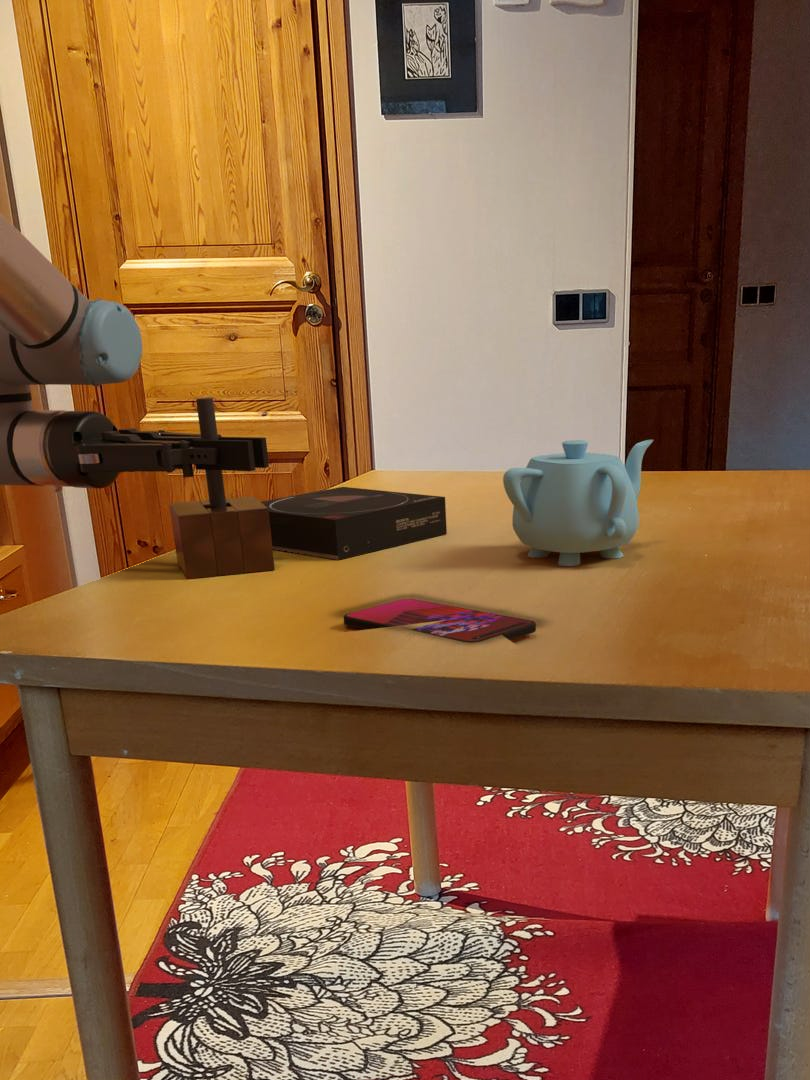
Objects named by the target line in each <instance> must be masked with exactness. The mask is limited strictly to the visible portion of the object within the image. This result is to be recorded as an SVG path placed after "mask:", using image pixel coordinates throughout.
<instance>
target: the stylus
mask: <svg viewBox="0 0 810 1080" xmlns="http://www.w3.org/2000/svg"><path fill="white" fill-rule="evenodd" d="M195 401H196V402H195V403H196V410H197V417H198V425H199V434H201V439H205V440H206V439H209V440H218V428H217V420H216V410H215V402H214V398H213V397H198V398H196V399H195ZM204 471H205V478H206V479H205V480H206V486H207V494H208V500H209V502H210V508H220V507H227V506H226V499H227V498H226V490H225V482H224V474H223V470H204Z"/></svg>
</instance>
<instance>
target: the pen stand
mask: <svg viewBox="0 0 810 1080" xmlns="http://www.w3.org/2000/svg"><path fill="white" fill-rule="evenodd" d="M261 502H262V501H260V500H259V499H258V498H257V497H255V496H254V495H251V496H239V497H228V498H226V506H227V507H220V508H210V502H209V499H203V500H193V501H181V502H170V503H169V504H168V505H169V512H170V519H171V527H172V533H173V541H174V548H175V552H176V560H177V561H176V562H177V564H178V566H179V567H180V569H181V571H182V573H183V574H184V576H185V578H186V579H187V580H191V579H199V578H200V579H201V578H210V577H212V578H213V577H222V576H232V575H239V574H238V573H242V574H248V573H247V572H251V573H258V572H257V571H261V572H268V571H267V570H271V571H275V568H276V567H275V559H274V558H275V557H274V550H273V549H272V539H271V530H270V521H269V512H268V508H267V507H266V506H265V505H263V504H262V503H261ZM231 574H232V575H231Z"/></svg>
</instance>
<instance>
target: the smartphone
mask: <svg viewBox="0 0 810 1080" xmlns="http://www.w3.org/2000/svg"><path fill="white" fill-rule="evenodd" d="M343 623H344V625H345V626H348V627H353V628H356V629H357V628H358V629H361V630H366V631H367V630H376V629H383V628H385V629H386V628H392V627H401V626H409V625H418V624H426V623H430V624H427V625H422V626H419V627H415V628H406V627H404V629H405V630H409V631H414V632H417V633H422V634H427V635H430V636H435V637H440V638H444V639H449V640H453V641H457V642H462V643H466V644H467V643H469V644H473V643H480V642H484V641H488V640H490V639H493V638H497V637H500V636H502V637H504V638H505V639H507V640H508V641H513V640H515V639H518V638H522V637H525V636H528V635H531V634H534V633H535V632H536V631H537V623H536V621H534V620H531V619H525V618H519V617H515V616H510V615H509V616H508V615H503V614H497V613H491V612H487V611H481V610H475V609H470V608H464V607H459V606H453V605H448V604H442V603H437V602H431V601H427V600H426V601H425V600H421V599H420V600H419V599H415V598H401V599H398V600H394V601H390V602H386V603H383V604H379V605H375V606H371V607H368V608H364V609H359V610H356V611H351V612H348V613H345V614H344V615H343Z"/></svg>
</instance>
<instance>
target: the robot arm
mask: <svg viewBox="0 0 810 1080" xmlns="http://www.w3.org/2000/svg"><path fill="white" fill-rule="evenodd" d="M142 357H143V339H142V334H141V331H140V327H139V325H138V323H137V321H136V319H135V316H134V315H133V314H132V312H130V310H129V309H128V308H127V307H125V306H124V305H123V304H120V303H119V302H116V301H112V300H110V301H109V300H105V299H103V298H102V299H101V298H95V299H94V300H91V299H90V298H87V297H86V296H85V295H84V294H83V293H82V292H81V291H80V290H79V289H78V288H77V287H76V286H75V285H73V284H72V282H71V281H70V280H69V279H68V278H67V277H66V276H65V275H64V274H63V273H62V272H61V271H60V270H59V269H58V268H57V267H56V266H55V265H54V264H53V263H52V262H51V261H50V260H49V259H48V258H47V257H46V256H45V255H44V254H43V253H42V252H40V250H39V249H38V248H37V247H36V246H35V245H33V243H32V242H31V241H30V240H29V239H28V238H27V237H26V236H25V235H24V234H23V233H22V232H21V231H19V229H17V227H15V225H14V224H13V223H12V222H11V221H10V220H9V219H7V217H6V216H5V215H4V214H3V213H2V212H0V486H30V487H31V486H34V487H35V486H37V487H50V486H52V490H53V492H55V493H61V492H62V491H63V488H64V487H67V488H71V487H73V488H76V489H77V488H78V489H97V490H99V489H104V488H108V487H110V486H111V485H112V484H113V483H114V482H116V480H117V479H118V477H119V475H120V473H135V472H136V473H137V472H145V473H146V472H154V473H155V472H158V473H159V472H161V473H162V472H163V473H164V472H166V473H167V474H168V473H169V474H171V473H174V472H175V471H176V470H181V472H182V477H183V478H193V477H194V476H195V474H194V473H195V472H194V467H195V470H196V471H197V470H198V471H205V470H222V471H229V472H231V471H232V472H253V471H256V469H266V468H269V467H270V463H269V454H268V445H267V444H268V443H267V437H261V436H259V437H255V436H222V434H220V433H219V434H218V433H217V434H218V440H209V439H206V440H205V439H201V434H200V433H191V432H190V433H189V432H188V433H187V432H173V431H166V430H162V429H161V430H158V431H156V430H138V429H137V428H119V429H118V428H117V426H116V425H115V424H114V423H113V421H112V420H111V419H110V418H109V417H108V416H107V415H105V414H103V413H101V412H98V411H96V410H65V409H63V410H62V409H34V407H33V402H32V400H33V397H32V391H31V386H36V385H37V386H38V385H39V386H40V385H42V386H49V385H54V386H55V385H57V386H58V385H59V386H61V385H62V386H63V385H65V386H66V385H67V386H92V387H100V386H102V385H109V384H121V383H122V384H123V383H125V382H127V381H129V380H131V379H132V378H133V377H134V376H135V374H136V373H137V371H138V370H139V366H140V365H141V359H142ZM194 465H195V466H194Z"/></svg>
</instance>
